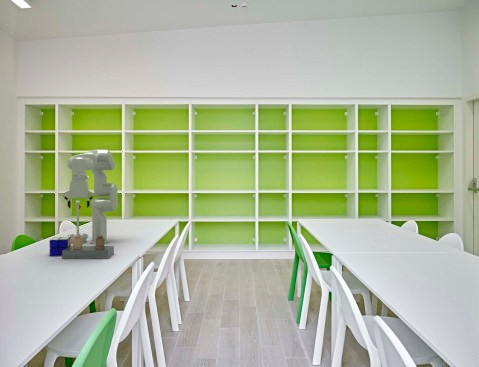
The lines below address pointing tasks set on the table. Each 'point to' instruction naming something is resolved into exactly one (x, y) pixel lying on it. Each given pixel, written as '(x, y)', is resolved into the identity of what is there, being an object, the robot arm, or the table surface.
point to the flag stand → (78, 227)
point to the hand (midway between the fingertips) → (78, 207)
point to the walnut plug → (100, 242)
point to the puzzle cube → (59, 245)
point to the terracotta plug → (77, 242)
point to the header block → (88, 252)
